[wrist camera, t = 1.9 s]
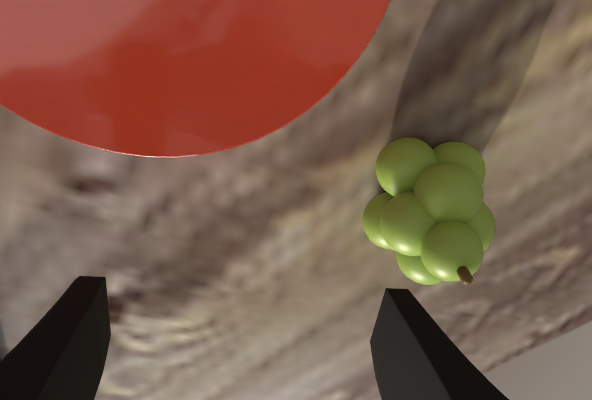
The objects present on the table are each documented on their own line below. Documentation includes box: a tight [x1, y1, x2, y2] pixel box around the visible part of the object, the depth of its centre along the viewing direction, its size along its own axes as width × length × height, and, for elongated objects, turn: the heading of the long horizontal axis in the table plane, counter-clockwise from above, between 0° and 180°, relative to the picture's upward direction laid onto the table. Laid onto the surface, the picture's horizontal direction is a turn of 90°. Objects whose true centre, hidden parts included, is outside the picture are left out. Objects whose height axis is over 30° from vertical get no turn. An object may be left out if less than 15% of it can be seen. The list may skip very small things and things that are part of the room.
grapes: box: [363, 137, 496, 285], centre depth 20 cm, size 5×4×7 cm
